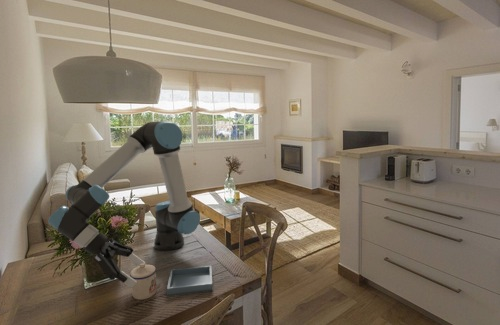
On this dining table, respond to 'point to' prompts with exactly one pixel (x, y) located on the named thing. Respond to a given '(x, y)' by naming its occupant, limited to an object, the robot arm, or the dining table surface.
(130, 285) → the robot arm
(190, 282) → the slate tray
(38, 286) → the dining table surface
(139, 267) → the teacup with lid
